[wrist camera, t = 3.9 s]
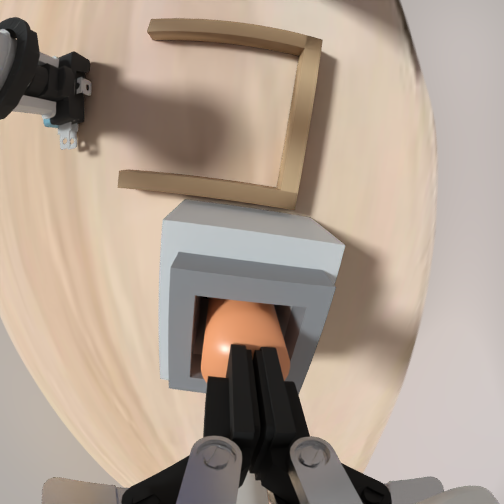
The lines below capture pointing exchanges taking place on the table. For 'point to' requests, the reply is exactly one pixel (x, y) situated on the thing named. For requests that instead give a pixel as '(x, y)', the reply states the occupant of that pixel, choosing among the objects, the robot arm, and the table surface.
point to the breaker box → (241, 280)
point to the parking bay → (297, 122)
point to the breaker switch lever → (239, 333)
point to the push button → (41, 81)
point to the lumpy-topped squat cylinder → (252, 491)
